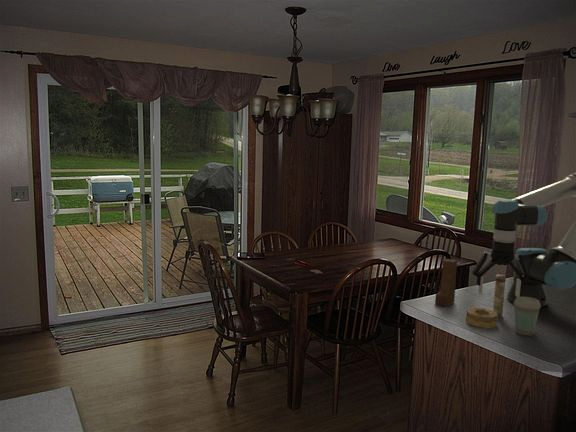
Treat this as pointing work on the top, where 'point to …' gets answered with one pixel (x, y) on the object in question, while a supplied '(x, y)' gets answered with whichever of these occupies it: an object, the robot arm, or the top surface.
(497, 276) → the wooden dowel
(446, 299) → the wooden block
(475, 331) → the top surface
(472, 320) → the tan faceted ring
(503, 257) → the robot arm
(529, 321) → the coffee cup
